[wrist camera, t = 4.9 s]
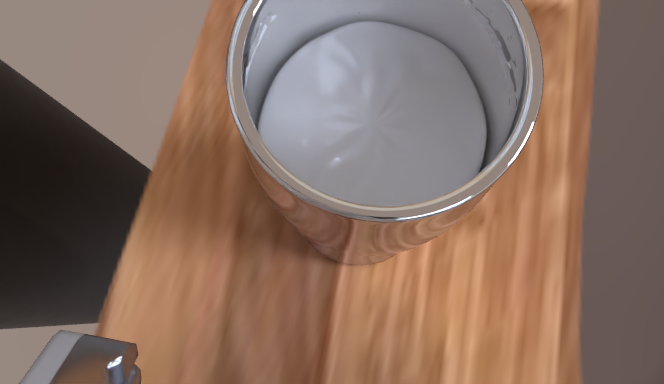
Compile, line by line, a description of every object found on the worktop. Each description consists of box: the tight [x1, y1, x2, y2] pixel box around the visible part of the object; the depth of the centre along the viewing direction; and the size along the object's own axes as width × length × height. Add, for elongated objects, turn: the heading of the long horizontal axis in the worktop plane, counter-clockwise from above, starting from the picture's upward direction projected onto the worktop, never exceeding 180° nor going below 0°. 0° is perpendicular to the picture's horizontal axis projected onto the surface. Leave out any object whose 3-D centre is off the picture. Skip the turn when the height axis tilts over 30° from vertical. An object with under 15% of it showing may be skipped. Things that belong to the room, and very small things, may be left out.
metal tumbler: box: [226, 0, 544, 266], centre depth 19 cm, size 7×7×15 cm
